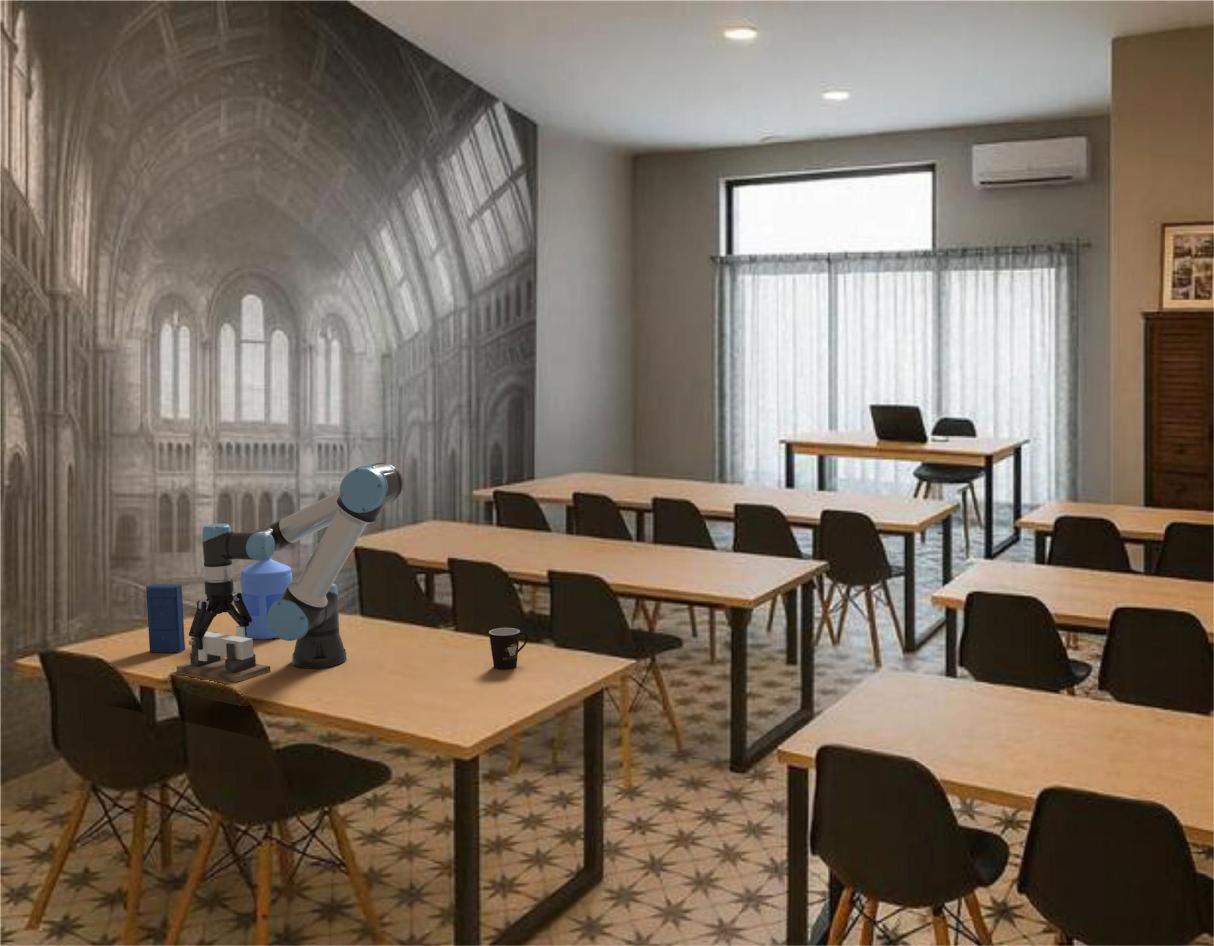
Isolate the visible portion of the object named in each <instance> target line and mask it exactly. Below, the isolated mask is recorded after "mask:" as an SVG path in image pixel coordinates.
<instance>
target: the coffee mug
mask: <svg viewBox="0 0 1214 946" xmlns="http://www.w3.org/2000/svg"><path fill="white" fill-rule="evenodd" d="M521 635H524V636H525V641H524V642H523V644H521V646H520V647H519V644H520V636H521ZM488 636H489V641H490V651H491V657H492V662H493V668H494V669H496V670H500V671H501V670H502V671H504V670H505V671H507V670H513V669H516V668H517V666H518V665H517V664H518V656H519V655H518V654H519V652H521V651H522V649H524V647H525V646H526V644H527V642H528V640H529V635H528V633H526V632H523V631H521V630H520V629H518V628H514V627H499V628H494V629H491V630H489V631H488Z"/></svg>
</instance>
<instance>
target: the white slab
mask: <svg viewBox="0 0 1214 946" xmlns="http://www.w3.org/2000/svg"><path fill="white" fill-rule="evenodd" d="M213 632H214V631H206V633H205V635H204V637H206V641H207V654H211V655H216V656H221V658H227V651H226V644H227V643H233V644H234V651H235V659H240V660H244V659H247V658H250V657H254V655H253V654H254V639H251V638H247V637H238V636H236V635H232V634H225V633H224V634H223V633H218V632H216V633H213ZM191 638H193V637H190V639H191Z"/></svg>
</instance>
